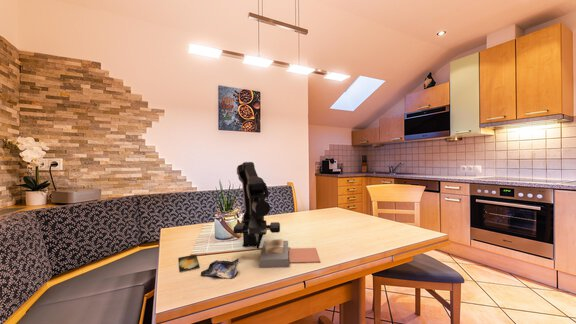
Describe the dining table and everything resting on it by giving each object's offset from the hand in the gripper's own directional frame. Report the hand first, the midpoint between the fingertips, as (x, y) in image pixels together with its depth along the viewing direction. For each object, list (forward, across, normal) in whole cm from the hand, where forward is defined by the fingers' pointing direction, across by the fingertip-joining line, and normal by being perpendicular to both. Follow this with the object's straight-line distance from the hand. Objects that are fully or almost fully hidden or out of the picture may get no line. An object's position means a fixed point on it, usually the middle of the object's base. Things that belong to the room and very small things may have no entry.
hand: (257, 248), depth 99 cm
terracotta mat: (+4, +19, 0) cm, 19 cm away
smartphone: (+4, -27, -4) cm, 28 cm away
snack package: (+4, -12, -14) cm, 19 cm away
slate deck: (+4, +7, 0) cm, 8 cm away
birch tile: (0, +7, 0) cm, 7 cm away
